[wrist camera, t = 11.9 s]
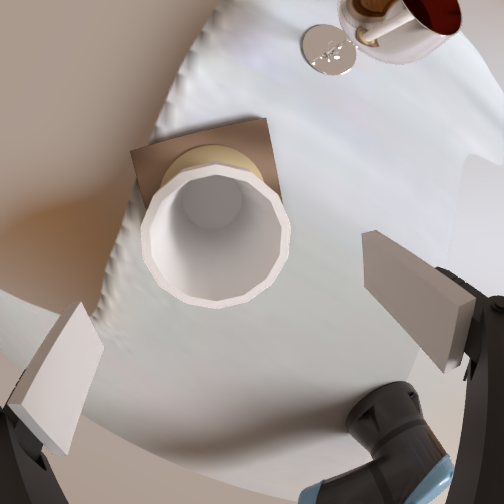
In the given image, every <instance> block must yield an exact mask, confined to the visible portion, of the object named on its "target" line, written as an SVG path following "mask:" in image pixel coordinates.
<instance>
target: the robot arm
mask: <svg viewBox="0 0 504 504" xmlns="http://www.w3.org/2000/svg"><path fill="white" fill-rule="evenodd" d="M362 247H363V264H364V287H365V288H366V289H367V290H368V291H369V292H370V293H371V294H372V295H373V296H374V297H375V298H376V299H377V301H378V302H379V303H380V304H381V305H382V306H383V307H384V308H385V309H386V310H387V311H388V312H389V313H390V314H391V315H392V316H393V318H394V319H395V320H396V321H397V322H398V323H399V324H400V325H401V326H402V327H403V328H404V330H405V331H406V332H407V333H408V334H409V335H410V336H411V337H412V338H413V339H414V341H415V342H416V343H417V344H418V345H419V346H420V347H421V348H422V349H423V351H424V352H425V353H426V354H427V355H428V356H429V357H430V358H431V360H432V361H433V362H434V363H435V364H436V365H437V366H438V368H439V369H440V370H441V371H442V372H443V374H445V373H447V372H449V371H450V370H452V369H454V368H456V367H458V366H460V364H461V361H462V357H463V354H464V352H465V353H466V354H467V355H468V356H469V357H470V360H469V363H468V367H467V370H466V373H465V376H464V379H463V381H466V379H467V389H466V400H465V409H464V418H463V425H462V432H461V438H460V444H459V449H458V454H457V460H456V464H455V467H454V465H453V464H452V462H451V460H450V458H449V457H450V456H449V455H448V454H447V453H446V451H445V450H444V449H443V447H442V445H441V444H440V442H439V441H438V439H437V438H436V437H435V435H434V433H433V432H432V430H431V429H430V427H429V426H428V425H427V423H426V421H425V420H424V418H423V414H422V409H421V405H420V401H419V396H418V394H417V392H416V390H415V389H414V388H413V386H412V385H411V384H409V383H407V382H396V383H392V384H389V385H386V386H384V387H381V388H379V389H377V390H376V391H374V392H372V393H371V394H369V395H368V396H366V397H365V398H364V399H362V400H361V401H360V402H359V403H358V404H357V405H356V406H355V407H354V408H353V409H352V411H351V412H350V414H349V416H348V418H347V427H348V430H349V432H350V434H351V435H352V437H353V438H354V439H356V440H357V441H358V442H359V443H360V444H361V445H362V446H363V447H364V448H365V449H367V450H368V451H369V452H370V454H371V456H372V458H373V461H371V462H369V463H367V464H364V465H362V466H360V467H357V468H355V469H353V470H350V471H348V472H345V473H343V474H340V475H337V476H335V477H332V478H329V479H327V480H325V479H324V480H322V481H321V482H319V483H317V484H314V485H312V486H309V487H307V488H305V489H304V490H303V491H302V492H301V493H300V496H299V499H298V504H427V503H429V502H430V501H432V500H433V499H434V498H436V497H437V496H438V495H439V494H440V493H441V492H443V491H444V490H445V489H446V488H447V487H448V486H449V485H450V483H451V485H450V489H449V493H448V496H447V500H446V503H445V504H504V296H492V297H489V298H488V297H486V296H485V295H483V294H482V293H481V292H479V291H478V290H477V289H475V288H474V287H472V286H471V285H469V284H468V283H465V281H464V280H462V279H461V278H458V276H456V275H455V274H453V273H452V272H450V271H449V270H446V269H443V268H440V267H436V268H434V267H432V266H431V265H429V264H428V263H426V262H425V261H423V260H422V259H420V258H419V257H417V256H416V255H414V254H413V253H411V252H410V251H408V250H407V249H405V248H404V247H402V246H401V245H399V244H397V243H396V242H394V241H393V240H391V239H390V238H388V237H386V236H385V235H383V234H382V233H380V232H378V231H377V230H374V231H370V232H366V233H362ZM103 351H104V346H103V344H102V342H101V340H100V339H99V337H98V335H97V333H96V331H95V329H94V327H93V325H92V323H91V321H90V319H89V317H88V315H87V313H86V311H85V309H84V306H83V304H82V302H81V301H80V302H76V303H71V304H68V306H67V307H66V308H65V310H64V311H63V313H62V314H61V316H60V317H59V319H58V320H57V322H56V323H55V325H54V326H53V328H52V329H51V331H50V332H49V334H48V335H47V337H46V338H45V340H44V341H43V343H42V344H41V346H40V348H39V349H38V351H37V352H36V354H35V356H34V357H33V359H32V361H31V362H30V364H29V366H28V367H27V368H26V369H25V370H24V372H23V374H22V375H21V377H20V379H19V380H20V381H18V382H17V384H16V388H14V389H13V391H12V393H11V395H10V397H9V398H8V400H7V402H6V404H5V406H4V408H3V409H2V408H1V406H0V504H69V503H68V501H67V499H66V498H65V496H64V494H63V492H62V490H61V488H60V486H59V484H58V482H57V480H56V478H55V475H54V473H53V471H52V469H51V467H50V464H49V462H48V460H47V458H46V456H45V455H44V454H43V453H42V452H41V450H42V447H43V445H44V446H45V447H46V448H47V449H48V450H49V451H50V452H51V453H52V454H55V455H68V453H69V449H70V446H71V442H72V439H73V435H74V432H75V429H76V426H77V423H78V420H79V417H80V414H81V411H82V408H83V405H84V402H85V399H86V396H87V393H88V391H89V388H90V385H91V382H92V379H93V377H94V374H95V371H96V369H97V366H98V364H99V361H100V358H101V356H102V353H103Z"/></svg>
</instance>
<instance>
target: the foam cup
mask: <svg viewBox="0 0 504 504" xmlns="http://www.w3.org/2000/svg"><path fill="white" fill-rule="evenodd" d="M140 229H141V242H142V253H143V260H144V262H145V263H146V265H147V267H148V268H149V270H150V272H151V273H152V275H153V277H154V278H155V280H156V281H157V283H158V285H159V286H160V287H161V288H163V289H164V290H166V291H167V292H169V293H170V294H172V295H173V296H175V297H176V298H178V299H179V300H181V301H183V302H184V303H186V304H191V305H196V306H202V307H208V308H214V309H219V308H223V307H228V306H232V305H237V304H241V303H246V302H248V301H249V300H251V299H252V298H254V297H255V296H257V295H258V294H259V293H261V292H262V291H264V290H265V289H266V288H268V287H269V286H270V285H272V284H273V282H274V281H275V279H276V277H277V276H278V274H279V272H280V271H281V269H282V267H283V265H284V264H285V262H286V260H287V259H288V256H289V244H290V232H291V224H290V222H289V219H288V217H287V214H286V212H285V210H284V207H283V205H282V202H281V200H280V198H279V195H278V194H277V193H276V192H274V191H273V190H272V189H271V188H270V187H268V186H267V185H266V184H265V183H264V182H263V181H261V180H260V179H259V178H258V177H257V176H255V175H254V174H253V173H252V172H251V171H249V170H248V169H247V168H243V167H239V166H235V165H231V164H226V163H222V162H218V161H214V162H209V163H205V164H200V165H196V166H192V167H188V168H184V169H183V170H181V171H180V172H179V173H178V174H176V175H175V176H174V177H173V178H172V179H170V180H169V181H168V182H167V183H166V184H164V185H163V186H162V187H161V188H160V189H159V190H158V191H157V192H156V193H155V194H154V196H153V198H152V200H151V202H150V205H149V207H148V209H147V212H146V214H145V217H144V219H143V222H142V224H141V227H140Z"/></svg>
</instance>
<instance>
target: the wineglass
mask: <svg viewBox="0 0 504 504" xmlns="http://www.w3.org/2000/svg"><path fill="white" fill-rule="evenodd" d="M337 13H338V18H339V22H340V25H341V27H342V29H343V31H342V30H341V29H339V28H337V27H334V26H331V25H319V26H315V27H313V28H312V29H310V30H309V31H308V32H307V33H306V35H305V37H304V39H303V52H304V55H305V57H306V59H307V61H308V62H309V63H310V64H311V65H312V66H313V67H314V68H315V69H316V70H318V71H320V72H322V73H324V74H327V75H341V74H344V73H346V72H348V71H349V70H350V69H351V68H352V67H353V65H354V63H355V60H356V49H355V46H356V47H357V48H358V49H359V50H360V51H362V52H363V53H364V54H366V55H368V56H369V57H371V58H373V59H375V60H378V61H380V62H383V63H387V64H394V65H404V64H409V63H413V62H416V61H418V60H420V59H422V58H424V57H426V56H427V55H429V54H430V53H432V52H433V51H434V50H436V49H437V48H438V47H440V46H441V45H442V44H444V43H445V42H446V41H448V40H449V39H450V38H451V37H453V36H454V35H455V34H456V33H458V32H459V30H460V28H461V25H462V12H461V8H460V5H459V2H458V0H338V3H337ZM354 45H355V46H354Z"/></svg>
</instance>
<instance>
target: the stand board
mask: <svg viewBox="0 0 504 504" xmlns="http://www.w3.org/2000/svg"><path fill="white" fill-rule="evenodd" d="M130 153H131V156H132V160H133V164H134V168H135V171H136V176H137V179H138V183H139V187H140V190H141V194H142V197H143V201H144V204H145V208H146V211H147V209H148V207H149V205H150V202H151V200H152V198H153V196H154V194H155V193H156V192H157V191H158V190H159V189H160V188H161V187H162V186H163V185H164V184H166V183H167V182H168V181H169V180H170V179H172V178H173V177H174V176H175V175H176V174H178V173H179V172H180V171H181V170H183V169H184V168H188V167H192V166H196V165H200V164H205V163H209V162H214V161H218V162H222V163H226V164H231V165H235V166H239V167H243V168H247V169H248V170H249V171H251V172H252V173H253V174H254V175H255V176H257V177H258V178H259V179H260V180H261V181H263V182H264V183H265V184H266V185H267V186H268V187H270V188H271V189H272V190H273V191H274V192H276V193H277V194H278V195H279V198H280V200H281V202H282V197H281V192H280V186H279V181H278V175H277V170H276V165H275V160H274V154H273V149H272V144H271V139H270V134H269V129H268V124H267V120H266V118H262V119H256V120H251V121H246V122H241V123H236V124H231V125H226V126H222V127H217V128H213V129H209V130H204V131H200V132H196V133H192V134H188V135H184V136H181V137H177V138H173V139H170V140H166V141H162V142H159V143H155V144H152V145H149V146H145V147H142V148H139V149H136V150H133V151H130ZM282 205H283V203H282ZM289 245H290V244H289Z"/></svg>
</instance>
